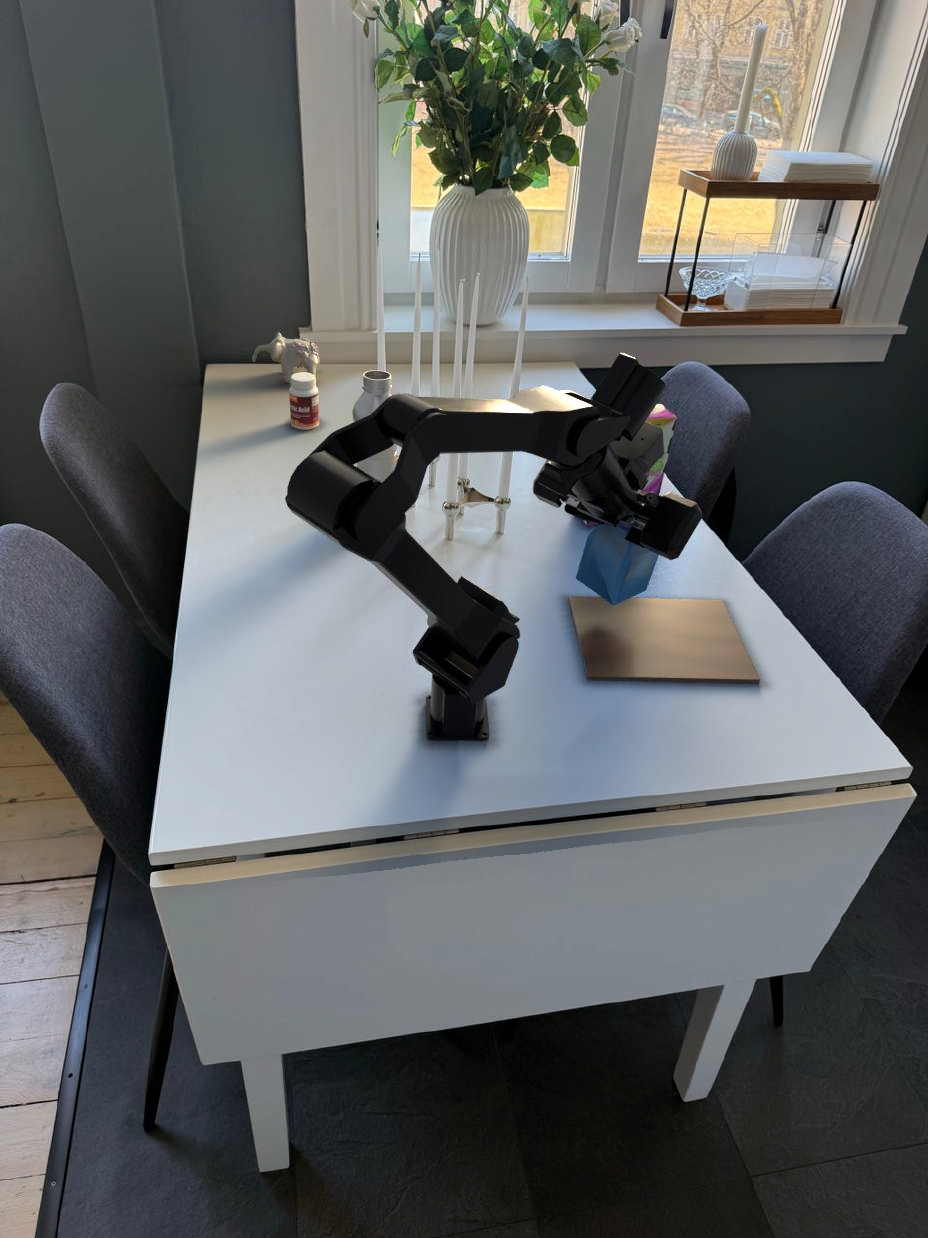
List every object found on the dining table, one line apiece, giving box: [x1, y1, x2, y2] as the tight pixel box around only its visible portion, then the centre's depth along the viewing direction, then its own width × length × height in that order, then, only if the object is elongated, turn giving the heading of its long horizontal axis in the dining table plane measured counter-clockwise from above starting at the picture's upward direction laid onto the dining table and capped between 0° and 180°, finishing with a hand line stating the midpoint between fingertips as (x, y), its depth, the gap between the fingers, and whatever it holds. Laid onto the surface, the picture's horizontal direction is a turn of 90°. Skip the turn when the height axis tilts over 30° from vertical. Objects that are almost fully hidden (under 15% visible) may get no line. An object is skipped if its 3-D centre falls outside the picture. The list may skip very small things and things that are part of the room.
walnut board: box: [567, 595, 761, 684], centre depth 110 cm, size 16×20×1 cm
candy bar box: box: [582, 403, 678, 527], centre depth 130 cm, size 11×5×16 cm, turn 108°
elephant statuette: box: [251, 331, 321, 384], centre depth 168 cm, size 9×12×8 cm
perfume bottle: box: [575, 492, 660, 605], centre depth 107 cm, size 6×6×12 cm
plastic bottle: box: [351, 369, 398, 482], centre depth 126 cm, size 6×7×20 cm
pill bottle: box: [288, 371, 320, 431], centre depth 152 cm, size 5×5×8 cm
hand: (634, 529), depth 106 cm, fingers closed on perfume bottle, 4 cm apart
